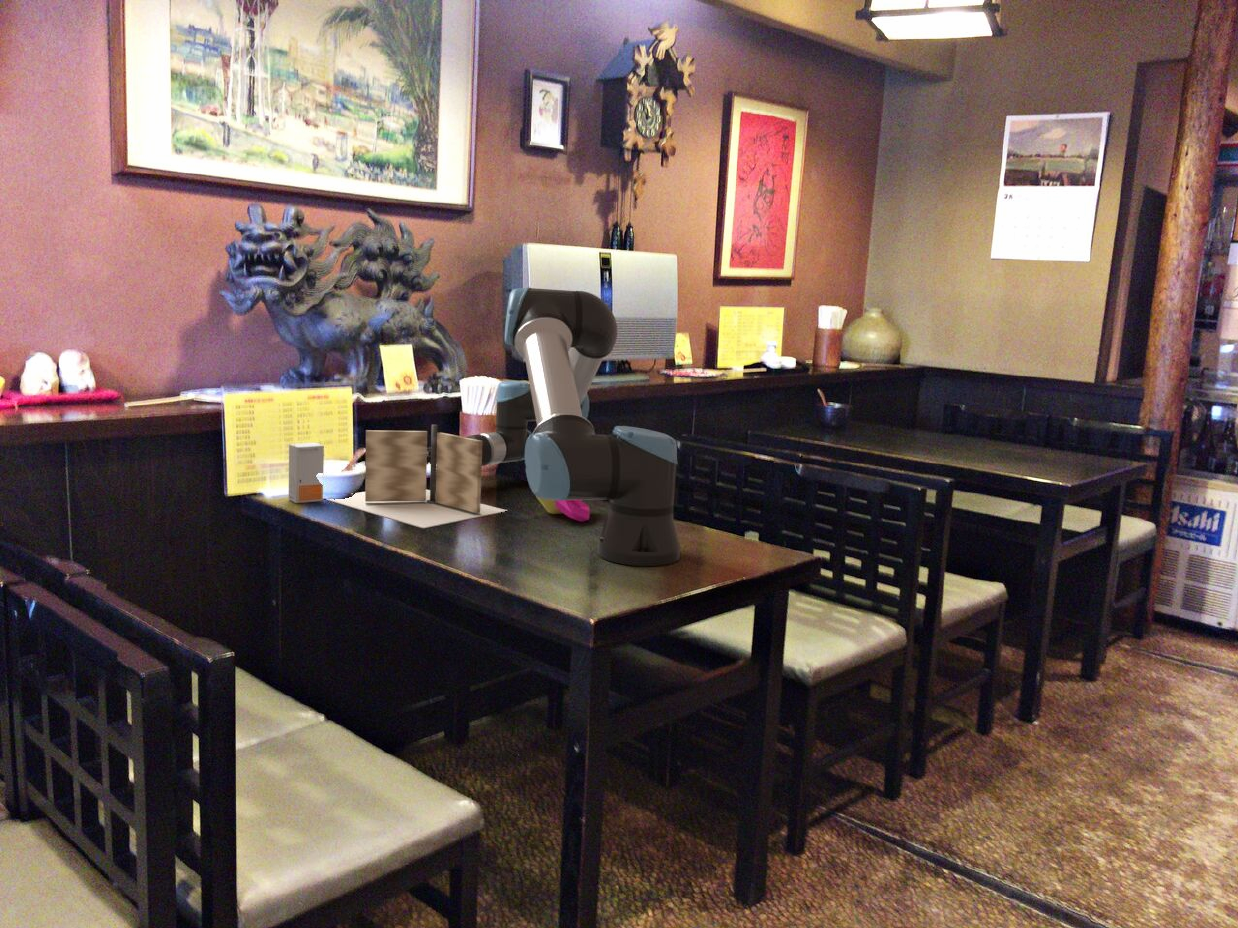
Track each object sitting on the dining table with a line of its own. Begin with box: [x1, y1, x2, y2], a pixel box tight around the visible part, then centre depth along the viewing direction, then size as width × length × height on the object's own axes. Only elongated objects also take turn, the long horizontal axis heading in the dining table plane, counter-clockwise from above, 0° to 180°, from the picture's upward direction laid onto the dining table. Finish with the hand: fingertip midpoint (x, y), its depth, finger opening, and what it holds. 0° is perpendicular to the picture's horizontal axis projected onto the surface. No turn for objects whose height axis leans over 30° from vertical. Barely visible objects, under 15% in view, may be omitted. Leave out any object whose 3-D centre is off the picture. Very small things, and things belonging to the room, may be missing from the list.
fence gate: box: [364, 429, 428, 502], centre depth 211 cm, size 12×1×15 cm, turn 106°
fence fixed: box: [427, 424, 483, 513], centre depth 209 cm, size 15×3×17 cm, turn 52°
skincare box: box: [288, 442, 325, 504], centre depth 210 cm, size 6×4×12 cm
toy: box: [535, 495, 591, 523], centre depth 211 cm, size 10×18×10 cm, turn 28°
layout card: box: [325, 488, 508, 529], centre depth 212 cm, size 32×23×1 cm
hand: (403, 461), depth 216 cm, fingers closed
